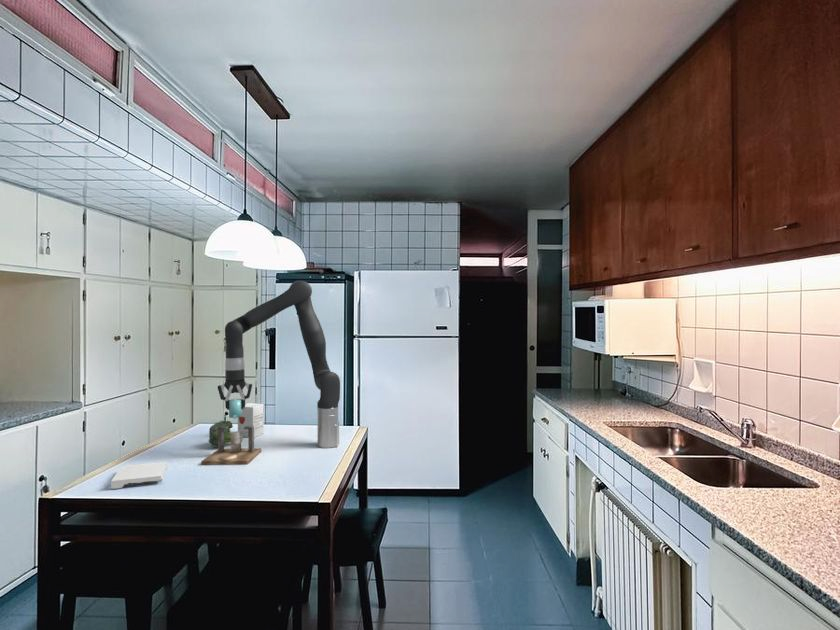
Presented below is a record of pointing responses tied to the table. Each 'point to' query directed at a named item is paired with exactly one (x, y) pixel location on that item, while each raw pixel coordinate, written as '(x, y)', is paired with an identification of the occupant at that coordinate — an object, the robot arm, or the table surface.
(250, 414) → the supplement box
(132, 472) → the food packaging
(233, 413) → the teal rounded body
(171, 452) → the table surface
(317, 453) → the table surface
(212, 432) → the vegetable
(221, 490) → the table surface
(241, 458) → the board with gray uprights
